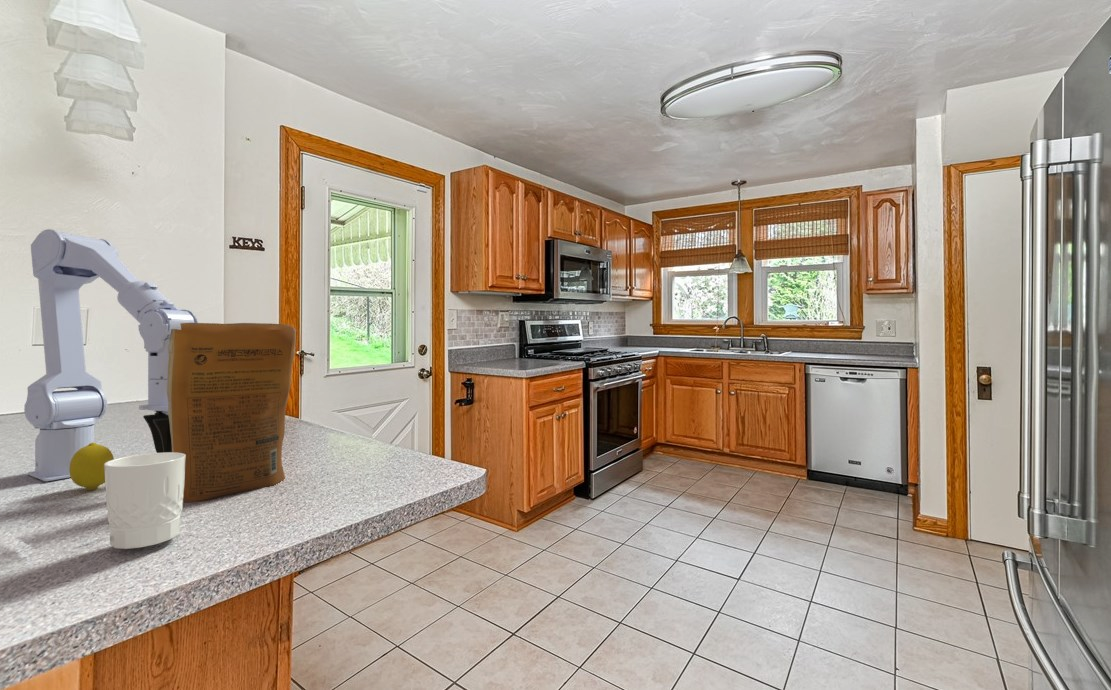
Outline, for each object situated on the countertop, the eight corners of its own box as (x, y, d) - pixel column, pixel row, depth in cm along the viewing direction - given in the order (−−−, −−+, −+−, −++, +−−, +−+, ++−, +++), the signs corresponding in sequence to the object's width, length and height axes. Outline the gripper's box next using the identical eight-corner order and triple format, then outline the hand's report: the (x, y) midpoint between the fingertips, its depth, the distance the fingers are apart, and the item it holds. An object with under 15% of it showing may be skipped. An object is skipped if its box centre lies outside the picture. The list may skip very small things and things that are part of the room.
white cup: (136, 528, 66) (136, 452, 66) (199, 526, 67) (199, 451, 67) (85, 552, 58) (85, 467, 58) (157, 550, 59) (157, 465, 59)
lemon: (87, 496, 80) (87, 446, 80) (60, 494, 81) (60, 445, 81) (123, 486, 86) (123, 440, 86) (96, 485, 87) (96, 439, 87)
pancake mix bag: (304, 483, 88) (304, 324, 88) (169, 511, 73) (170, 319, 73) (287, 477, 92) (288, 325, 92) (158, 501, 77) (158, 321, 77)
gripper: (132, 377, 89) (132, 454, 89) (147, 381, 79) (147, 467, 79) (181, 375, 94) (181, 448, 94) (201, 379, 84) (201, 459, 84)
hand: (169, 456), depth 87 cm, fingers open, 7 cm apart
